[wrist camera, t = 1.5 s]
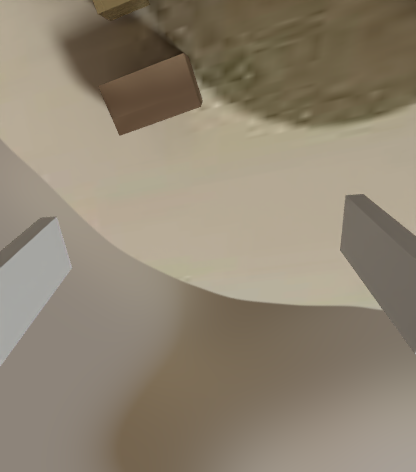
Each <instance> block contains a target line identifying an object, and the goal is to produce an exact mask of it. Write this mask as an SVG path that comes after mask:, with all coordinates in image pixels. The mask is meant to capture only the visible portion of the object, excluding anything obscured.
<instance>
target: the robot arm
mask: <svg viewBox="0 0 416 472" xmlns="http://www.w3.org/2000/svg"><path fill="white" fill-rule="evenodd" d="M340 251H341V252H342V253H343V255H344V256H345V258H346V259H347V260H348V262H349V263H350V265H351V266H352V267H353V269H354V270H355V271H356V273H357V274H358V276H359V277H360V278H361V280H362V281H363V283H364V284H365V285H366V287H367V288H368V290H369V291H370V292H371V294H372V295H373V296H374V298H375V299H376V301H377V302H378V303H379V305H380V306H381V308H382V309H383V310H384V312H385V313H386V315H387V316H388V317H389V319H390V320H391V321H392V323H393V324H394V326H395V327H396V328H397V330H398V331H399V333H400V334H401V335H402V337H403V338H404V340H405V341H406V342H407V344H408V345H409V346H410V348H411V349H412V351H413V352H414V353H415V354H416V236H415V235H414V234H412V233H411V232H410V231H409V230H407V229H406V228H405V227H404V226H402V225H401V224H400V223H399V222H397V221H396V220H395V219H394V218H392V217H391V216H390V215H389V214H387V213H386V212H385V211H384V210H382V209H381V208H380V207H379V206H377V205H376V204H375V203H374V202H372V201H371V200H370V199H369V198H367V197H366V196H365V195H364V194H358V195H346V196H345V206H344V217H343V227H342V237H341V247H340ZM71 269H72V266H71V262H70V259H69V256H68V253H67V249H66V246H65V243H64V239H63V236H62V233H61V229H60V226H59V222H58V219H57V217H46V218H40V219H39V220H37V221H36V222H35V223H34V224H33V225H31V226H30V227H29V228H28V229H27V230H25V231H24V232H23V233H22V234H21V235H20V236H18V237H17V238H16V239H15V240H13V241H12V242H11V243H10V244H9V245H7V246H6V247H5V248H4V249H3V250H1V251H0V366H1V365H2V363H3V362H4V361H5V359H6V358H7V356H8V355H9V354H10V352H11V351H12V349H13V348H14V347H15V345H16V344H17V343H18V341H19V340H20V339H21V337H22V335H24V333H25V332H26V330H27V329H28V328H29V326H30V325H31V323H32V322H33V321H34V319H35V318H36V317H37V315H38V314H39V313H40V311H41V310H42V308H43V307H44V306H45V304H46V303H47V302H48V300H49V299H50V297H51V296H52V294H53V293H54V292H55V290H56V289H57V288H58V286H59V285H60V284H61V282H62V281H63V280H64V278H65V277H66V275H67V274H68V273H69V271H70V270H71Z"/></svg>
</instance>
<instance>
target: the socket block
mask: <svg viewBox="0 0 416 472" xmlns="http://www.w3.org/2000/svg"><path fill="white" fill-rule="evenodd" d="M98 87H99V90H100V92H101V94H102V96H103V99H104V101H105V103H106V106H107V108H108V110H109V113H110V115H111V117H112V119H113V122H114V124H115V126H116V129H117V131H118V133H119V136H120V135H123V134H126V133H129V132H131V131H134V130H137V129H140V128H143V127H145V126H148V125H151V124H154V123H157V122H159V121H162V120H165V119H168V118H170V117H173V116H176V115H179V114H182V113H184V112H187V111H190V110H193V109H196V108H198V107H201V105H202V101H203V100H202V97H201V94H200V91H199V88H198V85H197V81H196V78H195V75H194V72H193V69H192V66H191V63H190V59H189V57H188V56H187V55H185V54H184V53H182V54H180V55H177V56H174V57H172V58H169V59H167V60H164V61H162V62H159V63H156V64H154V65H151V66H149V67H146V68H143V69H141V70H138V71H136V72H133V73H130V74H128V75H125V76H123V77H120V78H118V79H115V80H112V81H110V82H107V83H105V84H102V85H99V86H98Z"/></svg>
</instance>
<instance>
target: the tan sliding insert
mask: <svg viewBox="0 0 416 472" xmlns="http://www.w3.org/2000/svg"><path fill="white" fill-rule="evenodd" d="M93 3H94V5H95V8H96V10H97V13H98V14H99V15H101V16H103V17H104V18H106V19H108V20H110V21H112V20H114V19H117V18H119V17H121V16H124V15H126V14H129V13H131V12H134V11H136V10H138V9H141V8H143V7H146V6H148V5H150V3H149V0H93Z"/></svg>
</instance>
